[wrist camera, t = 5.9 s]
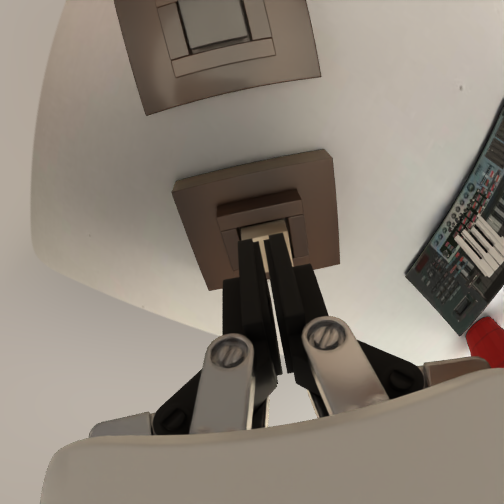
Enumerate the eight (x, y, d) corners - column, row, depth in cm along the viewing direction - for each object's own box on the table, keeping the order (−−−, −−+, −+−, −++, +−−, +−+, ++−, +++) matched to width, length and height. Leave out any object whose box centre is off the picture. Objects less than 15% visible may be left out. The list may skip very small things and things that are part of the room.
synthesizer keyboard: (461, 340, 26) (453, 332, 19) (407, 278, 32) (379, 251, 26) (568, 193, 20) (581, 141, 13) (509, 149, 26) (503, 92, 20)
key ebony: (193, 50, 15) (190, 49, 14) (182, 5, 13) (177, 0, 12) (246, 38, 15) (248, 35, 14) (235, -8, 13) (236, -14, 12)
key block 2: (209, 275, 30) (208, 305, 27) (175, 180, 24) (167, 203, 21) (333, 250, 29) (346, 277, 26) (324, 148, 23) (340, 166, 20)
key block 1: (153, 110, 20) (138, 121, 17) (121, -5, 15) (101, -15, 11) (313, 75, 20) (329, 79, 16) (286, -44, 14) (297, -61, 11)
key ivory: (249, 261, 25) (251, 275, 23) (240, 227, 23) (241, 240, 21) (289, 253, 24) (293, 267, 23) (283, 218, 23) (287, 231, 21)
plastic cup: (490, 296, 36) (529, 355, 26) (508, 313, 40) (539, 363, 30) (442, 343, 41) (472, 403, 32) (466, 353, 45) (492, 404, 35)
